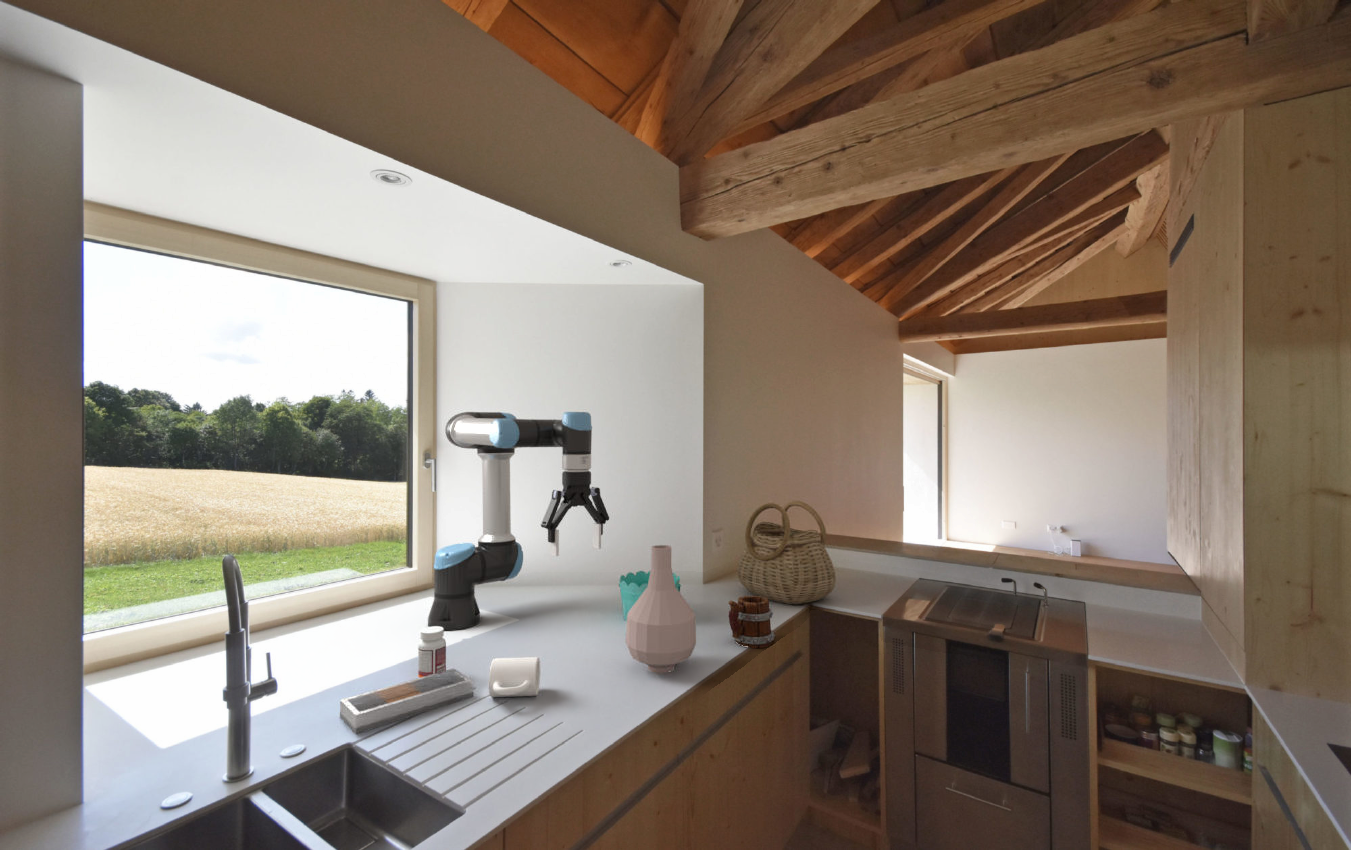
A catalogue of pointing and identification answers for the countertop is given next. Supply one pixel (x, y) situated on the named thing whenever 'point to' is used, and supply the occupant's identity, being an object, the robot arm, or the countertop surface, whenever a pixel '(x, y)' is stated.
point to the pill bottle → (431, 651)
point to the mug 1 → (514, 677)
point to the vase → (661, 619)
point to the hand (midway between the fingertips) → (576, 551)
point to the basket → (786, 559)
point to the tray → (404, 700)
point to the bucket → (636, 588)
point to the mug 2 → (751, 621)
